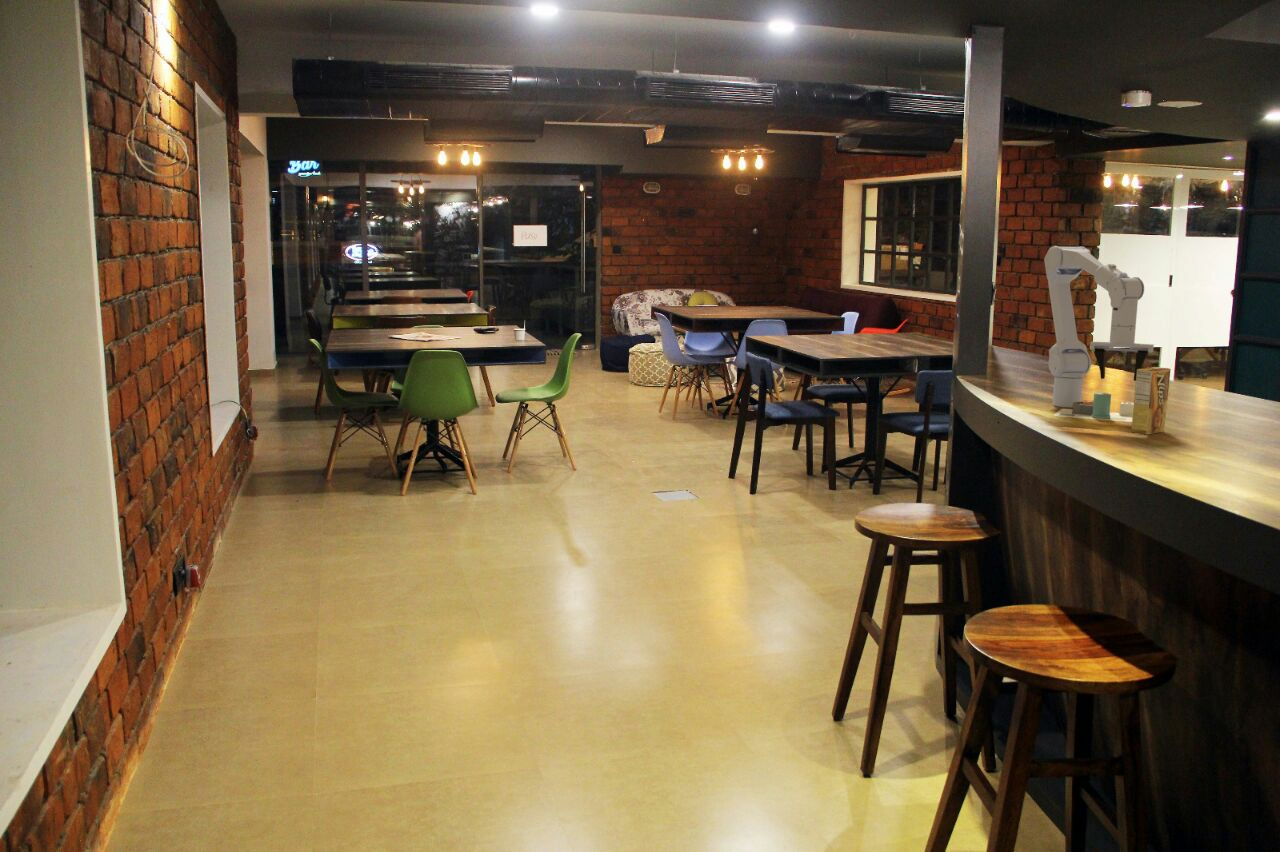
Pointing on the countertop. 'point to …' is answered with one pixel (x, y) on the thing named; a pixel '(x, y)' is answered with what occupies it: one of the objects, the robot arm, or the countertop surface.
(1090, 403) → the dome button
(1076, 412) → the game board
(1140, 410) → the candy box
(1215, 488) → the countertop surface
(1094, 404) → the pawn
